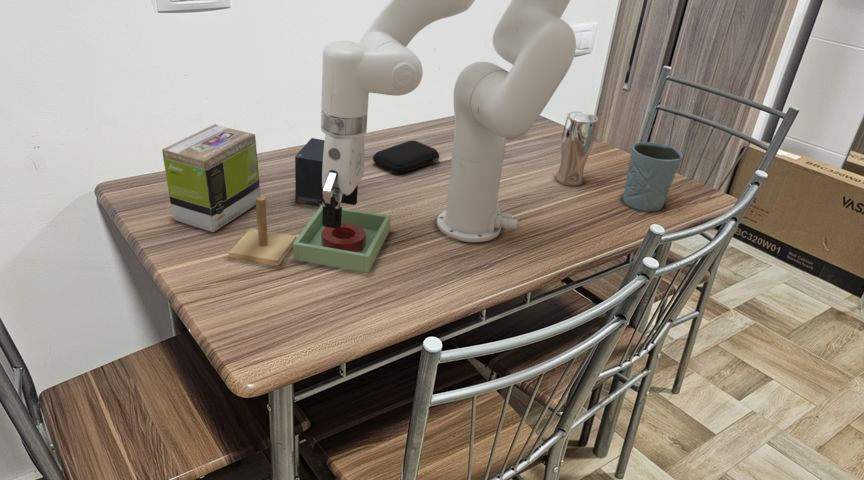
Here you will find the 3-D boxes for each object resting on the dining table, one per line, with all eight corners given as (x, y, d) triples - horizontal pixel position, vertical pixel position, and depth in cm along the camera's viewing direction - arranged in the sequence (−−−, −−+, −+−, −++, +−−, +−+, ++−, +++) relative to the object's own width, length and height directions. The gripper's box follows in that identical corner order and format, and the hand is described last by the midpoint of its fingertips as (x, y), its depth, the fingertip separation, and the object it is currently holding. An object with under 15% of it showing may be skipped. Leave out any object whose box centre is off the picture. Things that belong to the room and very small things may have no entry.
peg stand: (296, 243, 125) (295, 191, 119) (278, 268, 118) (275, 213, 112) (250, 235, 126) (246, 183, 121) (229, 259, 119) (224, 205, 113)
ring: (369, 237, 127) (370, 226, 126) (358, 258, 121) (358, 246, 120) (329, 231, 129) (329, 219, 127) (316, 251, 122) (316, 239, 121)
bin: (389, 232, 130) (390, 215, 128) (368, 275, 118) (368, 256, 116) (321, 221, 132) (321, 204, 130) (293, 261, 120) (292, 243, 118)
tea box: (221, 191, 141) (215, 122, 133) (262, 203, 137) (258, 133, 129) (170, 220, 129) (160, 146, 121) (213, 234, 126) (205, 159, 118)
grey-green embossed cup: (610, 200, 148) (624, 148, 142) (632, 187, 155) (646, 137, 148) (654, 217, 143) (670, 164, 136) (675, 203, 149) (691, 151, 143)
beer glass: (551, 182, 154) (563, 118, 146) (557, 171, 160) (569, 109, 152) (581, 189, 152) (596, 124, 144) (587, 177, 158) (601, 114, 150)
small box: (325, 209, 137) (325, 160, 131) (294, 205, 138) (292, 156, 132) (340, 187, 145) (340, 141, 140) (310, 183, 146) (310, 136, 141)
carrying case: (402, 179, 151) (445, 162, 160) (403, 166, 149) (446, 150, 158) (368, 164, 157) (412, 148, 166) (369, 151, 155) (413, 136, 164)
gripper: (351, 143, 104) (346, 241, 113) (379, 109, 119) (373, 198, 128) (304, 135, 105) (303, 233, 114) (337, 102, 120) (334, 191, 129)
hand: (340, 214), depth 121 cm, fingers open, 9 cm apart
